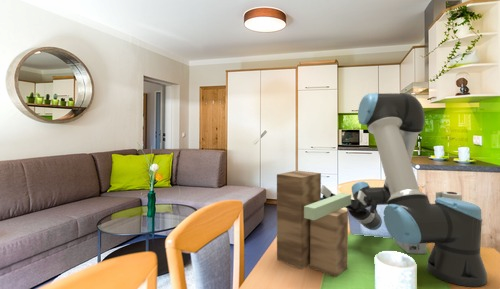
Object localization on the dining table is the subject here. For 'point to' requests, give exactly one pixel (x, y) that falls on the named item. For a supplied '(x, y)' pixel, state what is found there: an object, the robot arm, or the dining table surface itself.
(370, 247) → the dining table surface
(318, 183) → the walnut stand
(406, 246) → the light bulb box
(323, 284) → the dining table surface
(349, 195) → the sage bar
